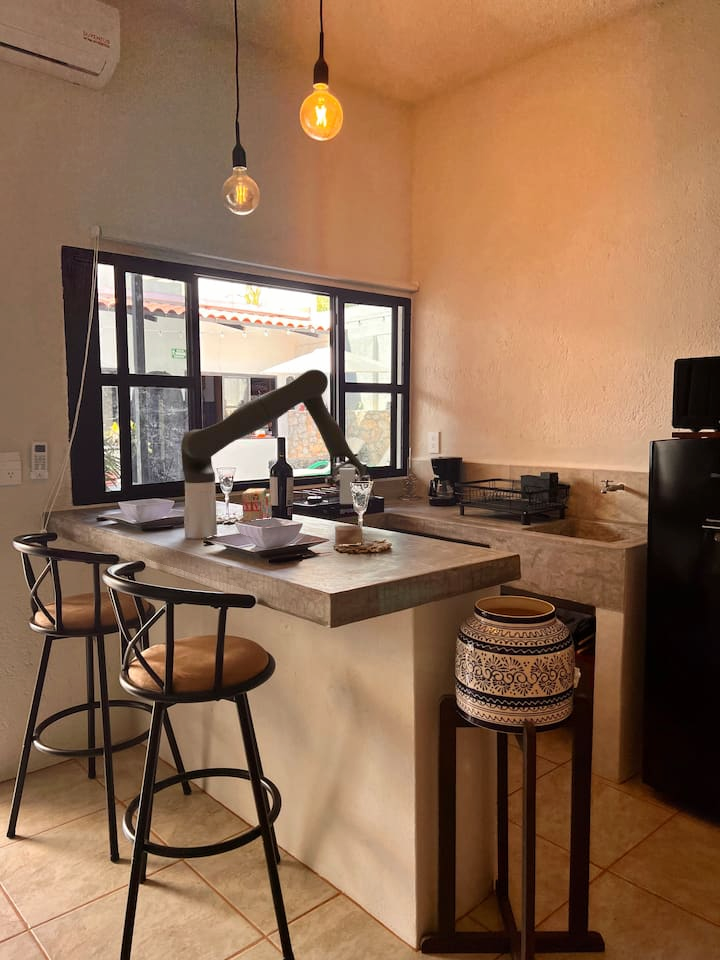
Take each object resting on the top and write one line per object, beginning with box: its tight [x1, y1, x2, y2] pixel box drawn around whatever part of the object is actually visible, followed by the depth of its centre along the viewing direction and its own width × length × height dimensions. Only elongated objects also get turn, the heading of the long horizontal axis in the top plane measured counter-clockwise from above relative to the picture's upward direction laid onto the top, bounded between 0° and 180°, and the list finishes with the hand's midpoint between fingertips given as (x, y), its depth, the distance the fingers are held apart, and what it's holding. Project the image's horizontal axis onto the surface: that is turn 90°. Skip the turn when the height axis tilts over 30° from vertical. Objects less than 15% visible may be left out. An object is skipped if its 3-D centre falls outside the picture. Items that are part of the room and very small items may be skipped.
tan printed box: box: [241, 487, 272, 523], centre depth 237 cm, size 21×6×12 cm, turn 179°
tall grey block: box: [339, 468, 355, 505], centre depth 199 cm, size 4×4×10 cm
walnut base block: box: [334, 524, 363, 545], centre depth 200 cm, size 7×7×5 cm
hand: (347, 483), depth 196 cm, fingers closed on tall grey block, 4 cm apart
